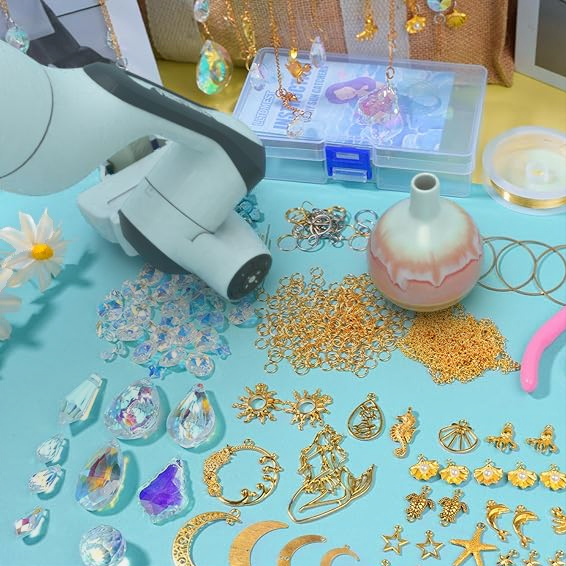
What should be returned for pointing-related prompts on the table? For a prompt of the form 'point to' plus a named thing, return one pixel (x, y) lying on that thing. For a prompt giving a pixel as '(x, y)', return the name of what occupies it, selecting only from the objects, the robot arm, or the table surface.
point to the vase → (425, 250)
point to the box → (131, 154)
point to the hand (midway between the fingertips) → (125, 150)
